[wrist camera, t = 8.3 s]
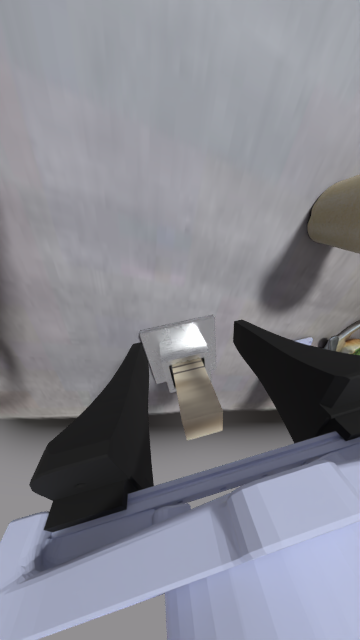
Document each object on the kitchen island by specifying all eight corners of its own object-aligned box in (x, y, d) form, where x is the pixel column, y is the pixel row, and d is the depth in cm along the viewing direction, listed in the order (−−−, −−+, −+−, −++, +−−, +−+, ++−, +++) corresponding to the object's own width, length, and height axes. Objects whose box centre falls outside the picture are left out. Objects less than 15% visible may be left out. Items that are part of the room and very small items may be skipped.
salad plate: (289, 359, 33) (309, 377, 29) (371, 293, 28) (408, 304, 24) (323, 385, 42) (342, 401, 38) (391, 338, 36) (421, 351, 33)
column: (200, 370, 25) (222, 430, 17) (174, 376, 24) (186, 440, 17) (198, 350, 22) (223, 410, 15) (170, 357, 22) (181, 421, 15)
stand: (214, 365, 29) (225, 388, 25) (156, 379, 28) (157, 405, 24) (212, 314, 24) (226, 333, 19) (139, 330, 23) (138, 353, 18)
